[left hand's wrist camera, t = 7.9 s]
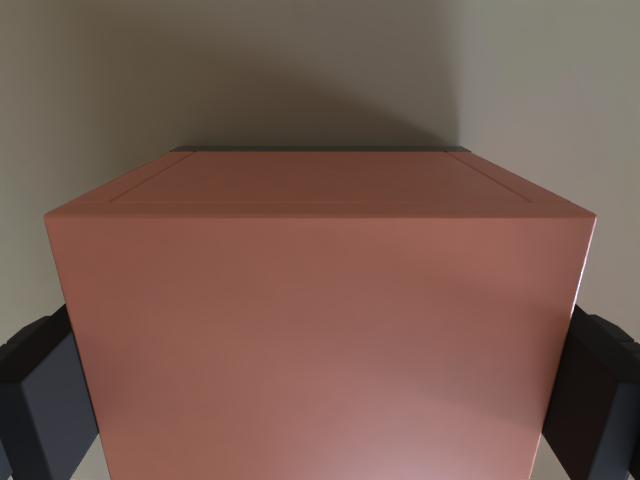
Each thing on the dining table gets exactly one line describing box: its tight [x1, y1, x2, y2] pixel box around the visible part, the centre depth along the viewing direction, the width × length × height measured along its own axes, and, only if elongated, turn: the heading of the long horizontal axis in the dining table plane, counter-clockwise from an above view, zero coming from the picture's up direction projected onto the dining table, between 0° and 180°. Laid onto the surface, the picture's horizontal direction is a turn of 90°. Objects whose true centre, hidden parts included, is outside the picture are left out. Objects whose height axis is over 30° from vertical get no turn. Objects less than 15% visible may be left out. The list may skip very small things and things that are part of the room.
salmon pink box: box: [44, 147, 597, 480], centre depth 15 cm, size 20×10×8 cm, turn 0°
